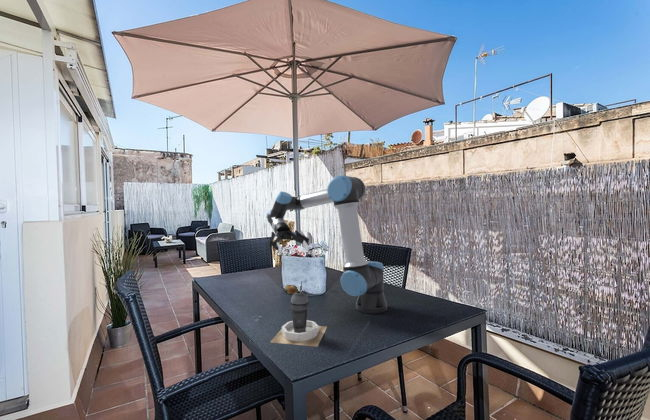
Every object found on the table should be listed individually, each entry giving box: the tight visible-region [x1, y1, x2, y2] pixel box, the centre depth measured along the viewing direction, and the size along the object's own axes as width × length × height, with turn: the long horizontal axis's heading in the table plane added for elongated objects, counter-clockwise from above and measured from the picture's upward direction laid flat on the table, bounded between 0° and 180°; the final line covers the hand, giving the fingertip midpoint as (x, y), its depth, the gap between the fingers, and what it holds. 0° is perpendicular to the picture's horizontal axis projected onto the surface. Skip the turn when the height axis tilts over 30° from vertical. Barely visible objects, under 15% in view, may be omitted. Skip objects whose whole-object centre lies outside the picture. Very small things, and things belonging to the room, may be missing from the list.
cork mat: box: [269, 325, 328, 348], centre depth 121 cm, size 18×18×1 cm
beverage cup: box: [289, 280, 310, 333], centre depth 120 cm, size 7×7×20 cm
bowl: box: [281, 319, 320, 342], centre depth 121 cm, size 14×14×3 cm
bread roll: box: [284, 284, 299, 295], centre depth 180 cm, size 10×10×8 cm
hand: (295, 251), depth 143 cm, fingers open, 13 cm apart
